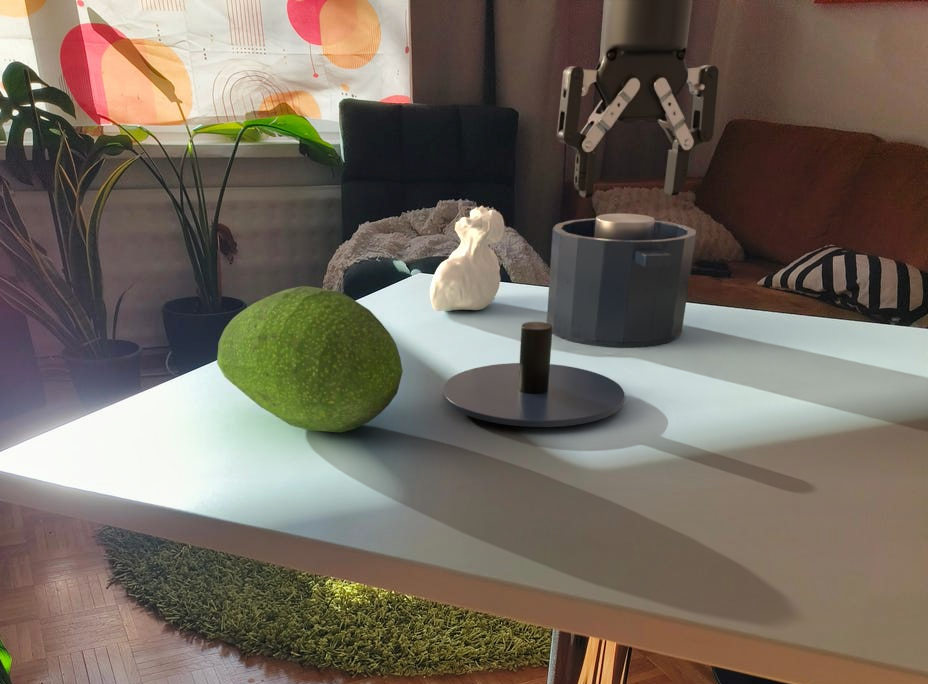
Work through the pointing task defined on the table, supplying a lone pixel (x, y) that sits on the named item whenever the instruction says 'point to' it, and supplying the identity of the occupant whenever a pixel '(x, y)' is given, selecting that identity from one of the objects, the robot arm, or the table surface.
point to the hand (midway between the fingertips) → (629, 195)
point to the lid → (533, 388)
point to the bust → (470, 265)
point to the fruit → (312, 359)
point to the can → (624, 227)
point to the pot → (619, 285)
